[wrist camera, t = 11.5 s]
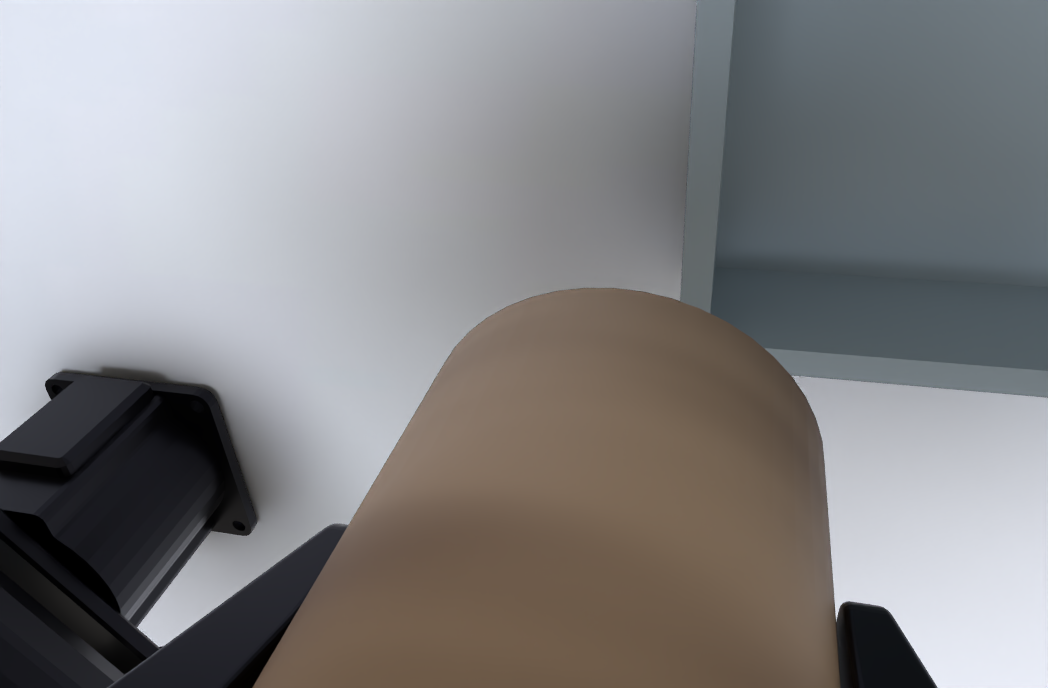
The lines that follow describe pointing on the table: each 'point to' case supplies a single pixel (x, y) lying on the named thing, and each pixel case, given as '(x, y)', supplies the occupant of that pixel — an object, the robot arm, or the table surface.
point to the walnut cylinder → (586, 517)
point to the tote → (874, 187)
